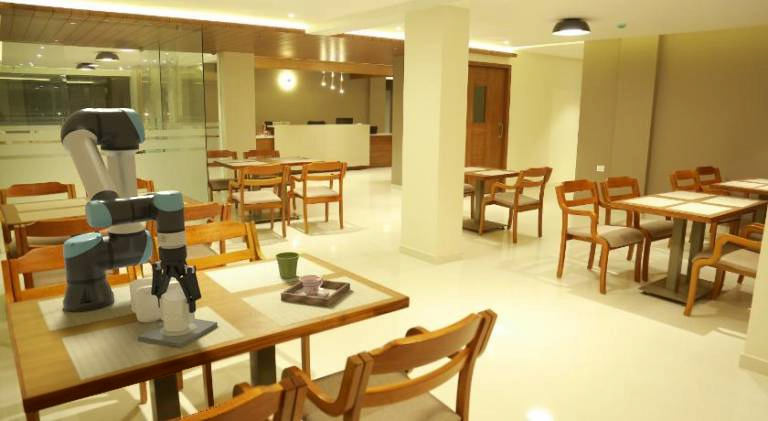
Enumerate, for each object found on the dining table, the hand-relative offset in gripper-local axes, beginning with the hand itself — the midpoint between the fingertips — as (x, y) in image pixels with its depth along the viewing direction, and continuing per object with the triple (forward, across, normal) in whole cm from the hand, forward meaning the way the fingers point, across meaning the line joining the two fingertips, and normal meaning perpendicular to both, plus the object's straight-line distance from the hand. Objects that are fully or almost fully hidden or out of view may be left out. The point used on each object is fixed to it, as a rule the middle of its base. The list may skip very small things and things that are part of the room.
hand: (178, 320), depth 156 cm
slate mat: (+4, 0, 0) cm, 4 cm away
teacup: (+4, +21, +43) cm, 48 cm away
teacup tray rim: (+4, +23, +43) cm, 49 cm away
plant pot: (+4, +3, +58) cm, 58 cm away
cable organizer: (+4, -15, +9) cm, 18 cm away
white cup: (+2, -1, 0) cm, 3 cm away
